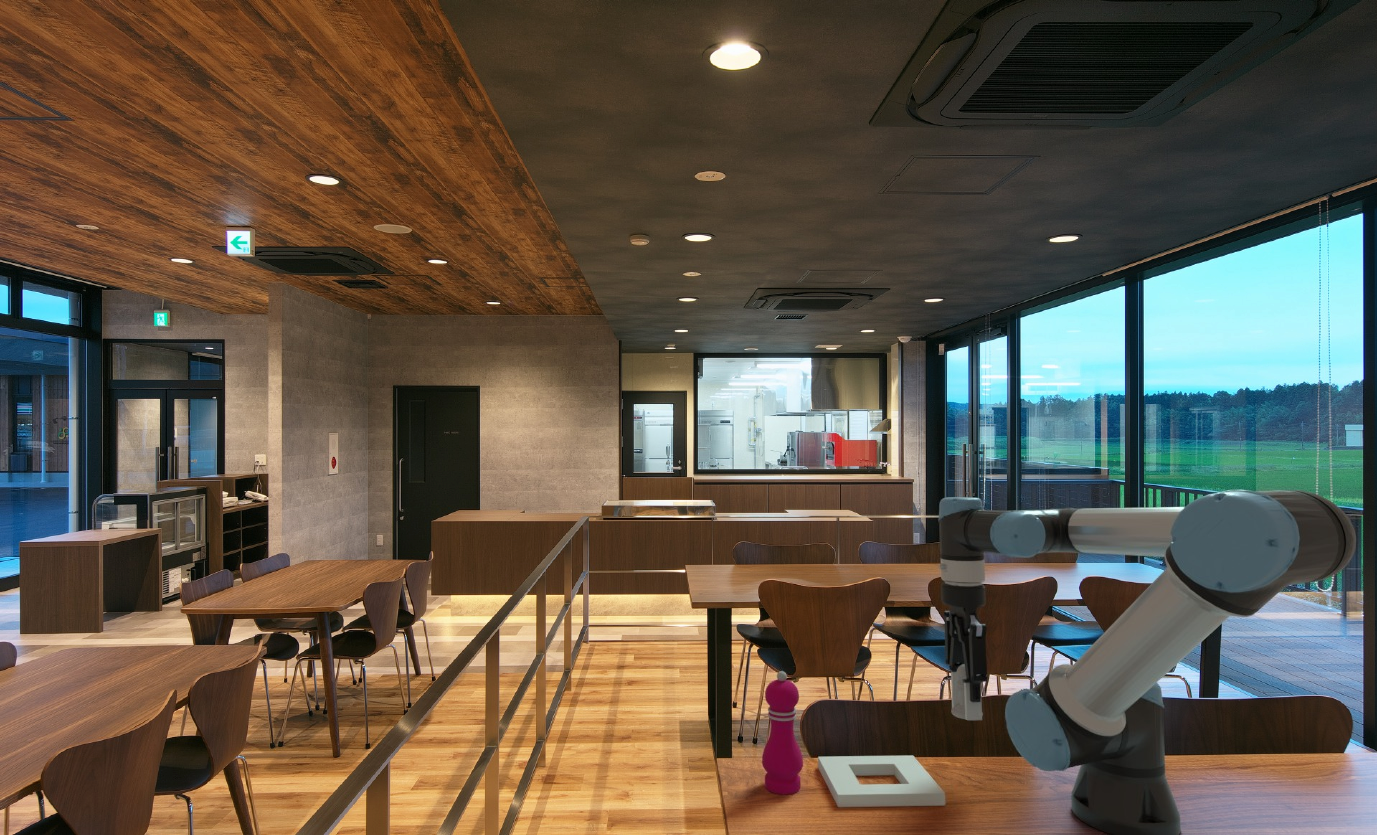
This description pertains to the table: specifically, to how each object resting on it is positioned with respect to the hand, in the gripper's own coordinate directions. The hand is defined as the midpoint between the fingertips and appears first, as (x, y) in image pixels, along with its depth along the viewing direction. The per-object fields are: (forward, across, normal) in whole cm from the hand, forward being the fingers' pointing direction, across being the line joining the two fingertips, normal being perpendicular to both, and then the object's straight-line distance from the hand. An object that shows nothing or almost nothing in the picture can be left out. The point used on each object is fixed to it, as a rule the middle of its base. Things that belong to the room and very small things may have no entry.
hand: (966, 713), depth 133 cm
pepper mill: (+12, 0, -33) cm, 36 cm away
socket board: (+12, 0, -16) cm, 20 cm away
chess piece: (+1, 0, 0) cm, 1 cm away
